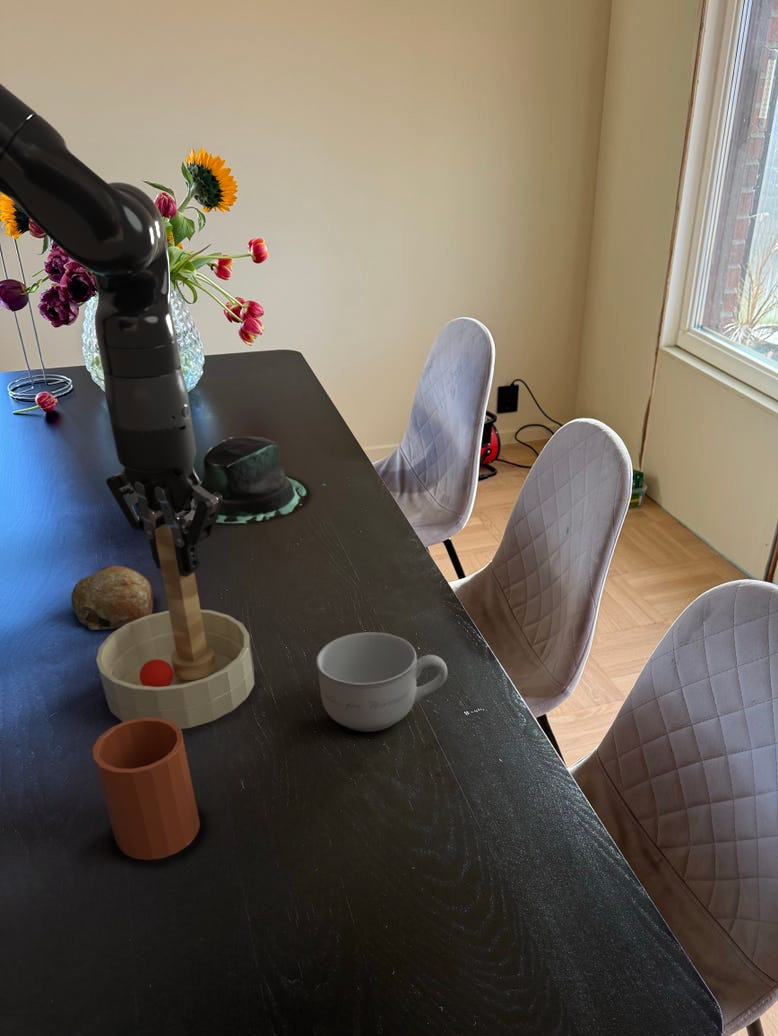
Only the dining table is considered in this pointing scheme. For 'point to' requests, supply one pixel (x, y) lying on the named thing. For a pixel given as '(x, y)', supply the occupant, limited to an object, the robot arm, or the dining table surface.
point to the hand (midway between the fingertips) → (177, 569)
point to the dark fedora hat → (249, 479)
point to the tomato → (156, 673)
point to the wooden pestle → (183, 614)
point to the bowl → (182, 697)
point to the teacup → (373, 679)
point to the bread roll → (112, 598)
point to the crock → (147, 787)
